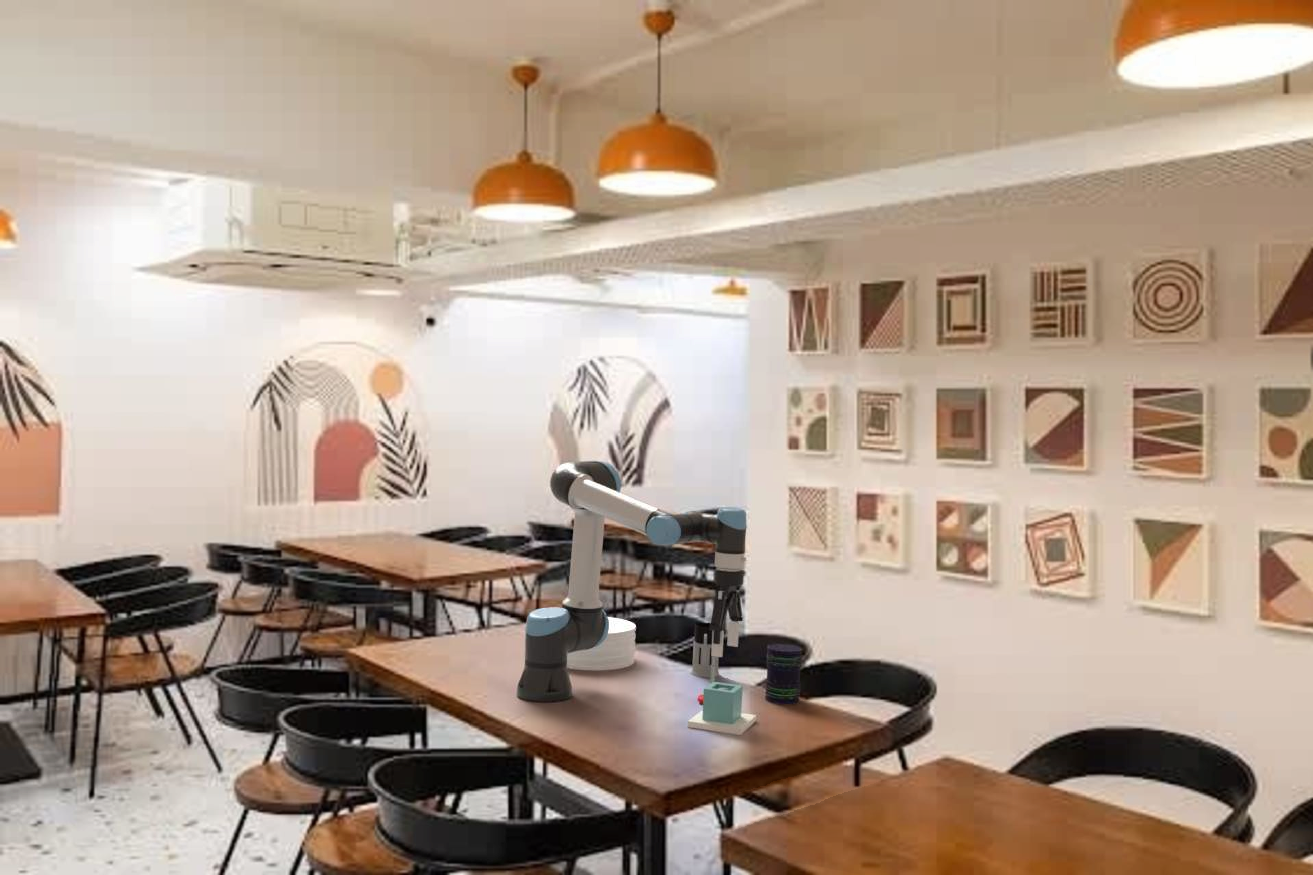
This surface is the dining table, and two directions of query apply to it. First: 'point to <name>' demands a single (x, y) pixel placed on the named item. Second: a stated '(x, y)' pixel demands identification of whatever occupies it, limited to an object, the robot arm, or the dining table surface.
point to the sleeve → (722, 703)
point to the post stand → (734, 728)
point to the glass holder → (703, 651)
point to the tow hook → (710, 679)
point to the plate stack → (608, 649)
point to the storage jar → (783, 674)
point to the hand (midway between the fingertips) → (724, 651)
